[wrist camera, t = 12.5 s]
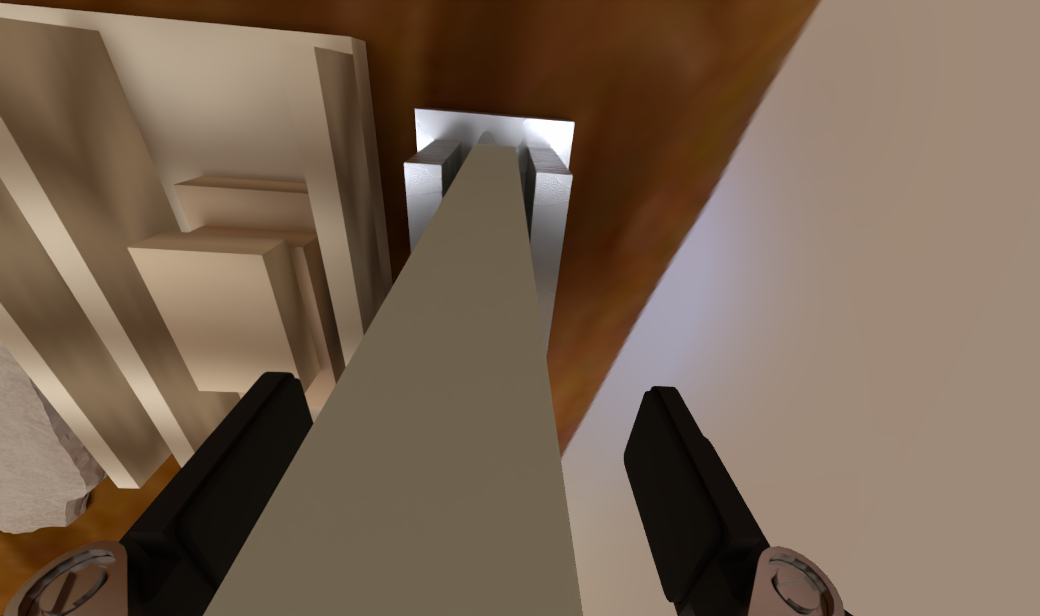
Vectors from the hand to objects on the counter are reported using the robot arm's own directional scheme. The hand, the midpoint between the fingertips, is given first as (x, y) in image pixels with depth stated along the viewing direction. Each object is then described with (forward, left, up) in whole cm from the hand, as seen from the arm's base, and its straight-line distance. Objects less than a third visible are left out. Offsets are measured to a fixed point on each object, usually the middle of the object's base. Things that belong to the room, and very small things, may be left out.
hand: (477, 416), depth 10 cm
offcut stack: (+1, -9, -8) cm, 12 cm away
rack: (+1, -12, -10) cm, 16 cm away
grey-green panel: (0, 0, -8) cm, 8 cm away
